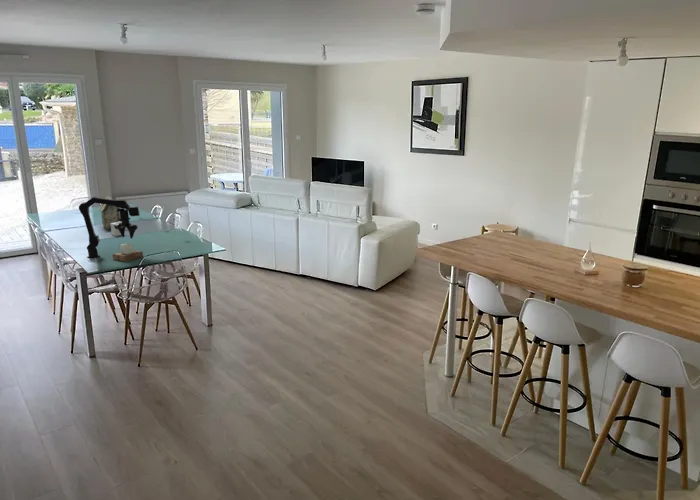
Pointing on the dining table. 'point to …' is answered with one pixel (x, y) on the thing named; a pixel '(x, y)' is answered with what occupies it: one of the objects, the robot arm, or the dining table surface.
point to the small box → (114, 230)
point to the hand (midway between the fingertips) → (127, 237)
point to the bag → (109, 214)
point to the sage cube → (126, 248)
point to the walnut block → (127, 256)
